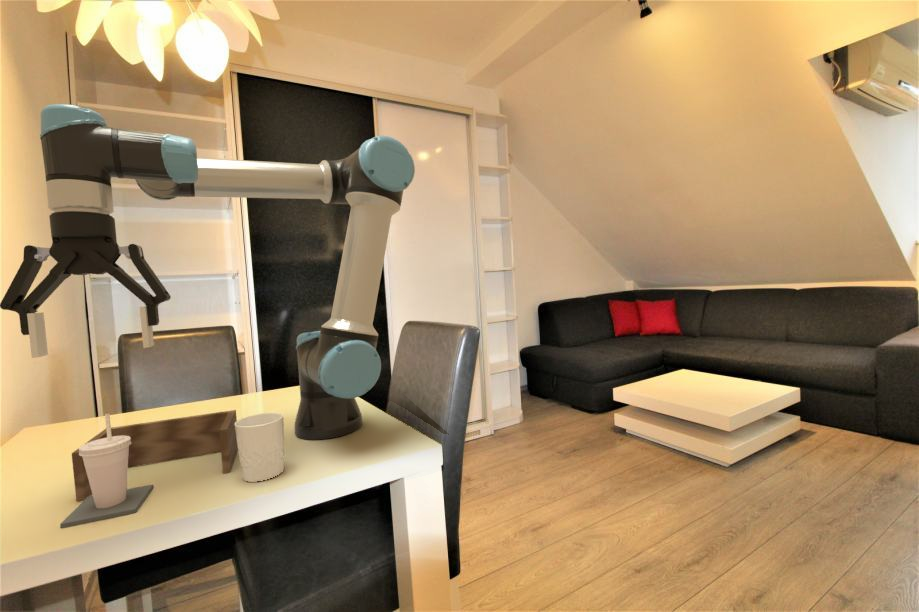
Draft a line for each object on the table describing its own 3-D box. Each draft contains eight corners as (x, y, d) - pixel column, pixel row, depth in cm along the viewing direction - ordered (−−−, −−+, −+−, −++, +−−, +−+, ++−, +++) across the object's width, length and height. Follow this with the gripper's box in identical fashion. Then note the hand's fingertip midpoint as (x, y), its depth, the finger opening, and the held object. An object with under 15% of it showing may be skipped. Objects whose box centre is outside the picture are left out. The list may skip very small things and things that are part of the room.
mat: (153, 487, 73) (153, 484, 73) (135, 512, 65) (135, 508, 65) (88, 500, 70) (87, 496, 70) (60, 528, 61) (60, 524, 61)
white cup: (233, 475, 76) (228, 420, 76) (277, 461, 82) (273, 410, 81) (248, 488, 71) (243, 429, 70) (294, 472, 76) (290, 417, 76)
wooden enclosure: (238, 446, 91) (235, 409, 90) (230, 472, 78) (226, 429, 77) (110, 468, 83) (106, 428, 82) (76, 501, 70) (71, 453, 69)
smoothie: (139, 500, 67) (131, 413, 66) (85, 518, 63) (76, 424, 62) (133, 488, 72) (125, 406, 71) (82, 503, 67) (74, 416, 67)
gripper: (183, 218, 73) (194, 340, 74) (-10, 217, 64) (5, 357, 65) (172, 210, 66) (184, 345, 67) (-47, 207, 57) (-29, 364, 58)
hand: (96, 351), depth 66 cm, fingers open, 13 cm apart
